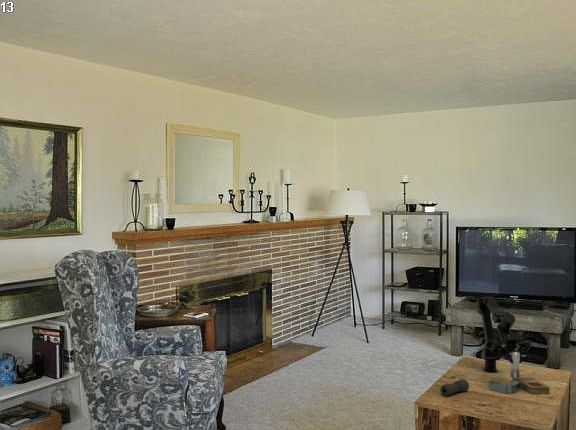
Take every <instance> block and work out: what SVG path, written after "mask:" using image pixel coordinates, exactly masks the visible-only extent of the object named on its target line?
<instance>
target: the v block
mask: <svg viewBox="0 0 576 430" xmlns="http://www.w3.org/2000/svg"><path fill="white" fill-rule="evenodd" d="M519 389H520V390H521V387H520V382H519V381H513V382H512V381H511V382H510V383H504V382H503V383H502V382H498V381H494V380H491V381H489V382H488V390H490V391H493V392H498V393H502V394H509V395H512V394H516V393H517V392H518V391H520V390H519Z"/></svg>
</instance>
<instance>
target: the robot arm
mask: <svg viewBox="0 0 576 430" xmlns="http://www.w3.org/2000/svg"><path fill="white" fill-rule="evenodd" d="M475 308H476V309H477V313H478V314H479V315H480V316H481V322H482V326H483V332H484V339H485V342H484V344H483V349H482V351H481V353H480V357H481V359H482V360H484V367H483V371H484V372H488V373H498V368H497V361H501V356H503V357H504V358H505V360H507V361H508V362H509V363H510V364H511V363H513V361H512V358H511V352H510V350H513V349H514V351H518V352H520V364H522V363H523V362H522V361H523V360H522V354H523V353H526V352H528V351H529V350H530V348H532V344H531V342H530V341H521V340H522V339H524V334H523V332H522V331H518V332H512V331H511V329H513V326H514V324H515V323H516V317H515V316H514V315H513V314H512V313H511V312H509V311H506V310H505V309H502V308H501V307H500V306H499V304H498V303H497V302H496V300H495V297H494V296H484V297H482V298H480V299H479V298H478V299H477V301H475ZM491 314H492V316H491ZM492 322H493V323H494V324H498V325H496V331H497V332H498V334H499V340H500V341H496V339H495V334H494V328H493V323H492ZM519 341H521V342H520V343H519V344H517V343H518V342H519Z"/></svg>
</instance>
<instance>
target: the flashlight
mask: <svg viewBox="0 0 576 430" xmlns="http://www.w3.org/2000/svg"><path fill="white" fill-rule="evenodd" d="M439 390H440V394H442V396H444V397H449V396H451V395H452V394H455V393H460V392H465V391H468V390H470V382H469V381H468V380H467V379H466V378H461V379H458V380H455V381H454V382H452V383H444V384H443V385H441V386H440V389H439Z"/></svg>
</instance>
